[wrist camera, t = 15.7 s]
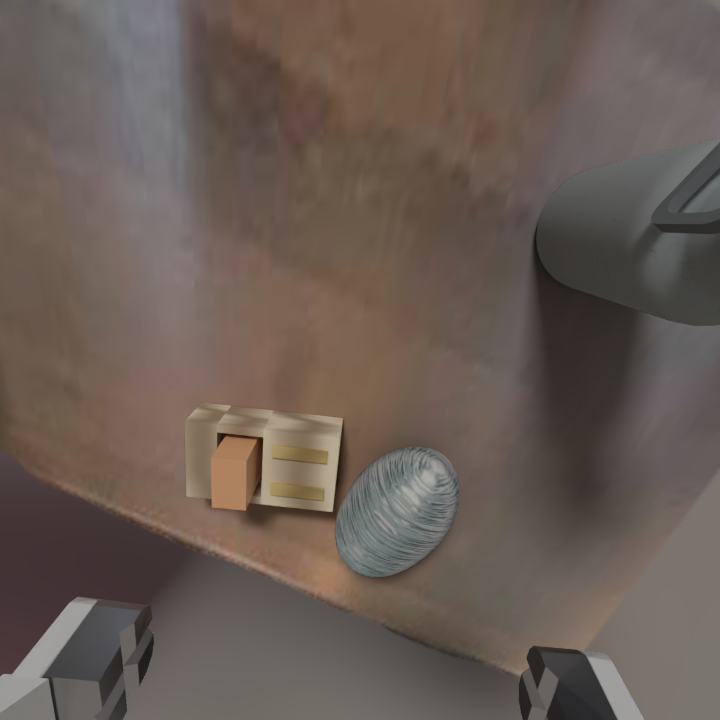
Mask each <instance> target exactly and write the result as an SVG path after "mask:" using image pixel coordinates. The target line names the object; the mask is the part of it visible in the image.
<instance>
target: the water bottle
mask: <svg viewBox="0 0 720 720" xmlns="http://www.w3.org/2000/svg"><path fill="white" fill-rule="evenodd" d="M536 243H537V251H538V254H539V258H540V260H541V262H542V264H543V266H544V268H545V269H546V270H547V272H548V273H549V274H550V275H551V276H552V277H553V278H554V279H555V280H557V281H558V282H560V283H561V284H563V285H565V286H568V287H570V288H573V289H576V290H579V291H582V292H585V293H588V294H591V295H594V296H597V297H600V298H603V299H606V300H609V301H612V302H615V303H618V304H621V305H624V306H627V307H630V308H633V309H636V310H639V311H642V312H645V313H648V314H651V315H654V316H657V317H660V318H663V319H666V320H669V321H673V322H678V323H683V324H688V325H693V326H713V325H720V138H716V139H711V140H707V141H703V142H699V143H695V144H691V145H687V146H682V147H678V148H674V149H670V150H666V151H662V152H658V153H654V154H649V155H645V156H641V157H637V158H633V159H629V160H625V161H621V162H616V163H612V164H608V165H604V166H600V167H596V168H592V169H588V170H586V171H583V172H581V173H579V174H576V175H575V176H573V177H572V178H570V179H569V180H567V181H566V182H565V183H563V184H562V185H561V186H560V187H559V188H558V189H557V190H556V191H555V192H554V193H553V195H552V196H551V197H550V199H549V200H548V201H547V203H546V205H545V207H544V209H543V211H542V213H541V215H540V219H539V222H538V225H537V233H536Z"/></svg>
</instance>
